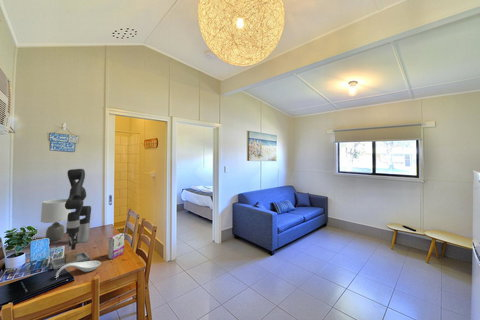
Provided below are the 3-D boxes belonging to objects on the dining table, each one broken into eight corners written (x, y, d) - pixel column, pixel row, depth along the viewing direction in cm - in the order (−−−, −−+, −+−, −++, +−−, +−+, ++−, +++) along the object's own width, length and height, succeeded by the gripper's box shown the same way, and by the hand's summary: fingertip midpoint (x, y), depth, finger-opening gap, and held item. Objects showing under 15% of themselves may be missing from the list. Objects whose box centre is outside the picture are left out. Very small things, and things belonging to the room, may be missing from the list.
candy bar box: (119, 252, 162) (120, 232, 163) (124, 253, 161) (125, 233, 162) (107, 258, 151) (108, 237, 152) (112, 259, 150) (114, 238, 151)
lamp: (73, 234, 197) (75, 198, 198) (62, 242, 178) (65, 202, 179) (47, 236, 190) (49, 199, 191) (33, 244, 170) (36, 203, 172)
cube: (64, 261, 144) (64, 253, 144) (74, 258, 148) (75, 250, 148) (66, 263, 140) (66, 255, 140) (76, 260, 145) (77, 252, 145)
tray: (50, 263, 140) (50, 260, 141) (84, 254, 156) (84, 251, 156) (53, 271, 132) (54, 267, 132) (89, 260, 147) (89, 257, 148)
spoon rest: (98, 263, 144) (99, 253, 144) (101, 270, 135) (102, 259, 136) (55, 275, 128) (56, 264, 128) (55, 283, 119) (55, 271, 119)
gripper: (64, 225, 146) (63, 246, 146) (68, 229, 138) (67, 252, 137) (77, 222, 152) (75, 243, 152) (82, 227, 143) (80, 249, 143)
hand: (71, 247), depth 145 cm, fingers open, 8 cm apart
